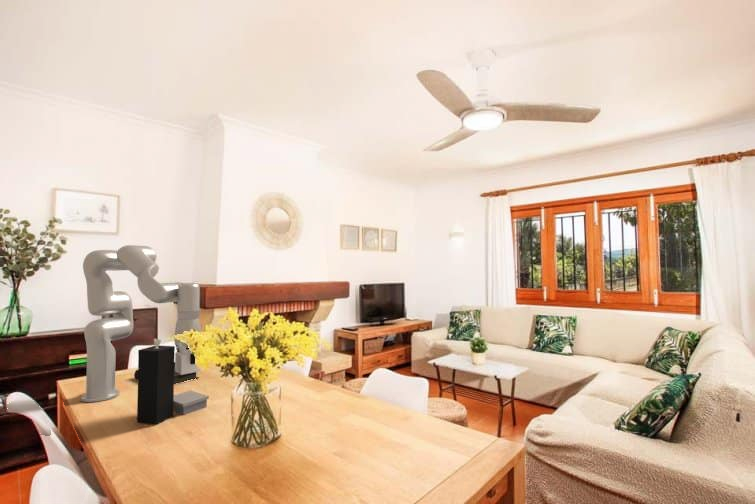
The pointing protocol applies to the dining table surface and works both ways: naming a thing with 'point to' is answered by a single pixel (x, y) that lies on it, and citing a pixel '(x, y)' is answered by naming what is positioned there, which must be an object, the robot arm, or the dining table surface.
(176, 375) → the diary
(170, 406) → the tall black pillar
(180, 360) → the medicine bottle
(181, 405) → the podium
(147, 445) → the dining table surface
